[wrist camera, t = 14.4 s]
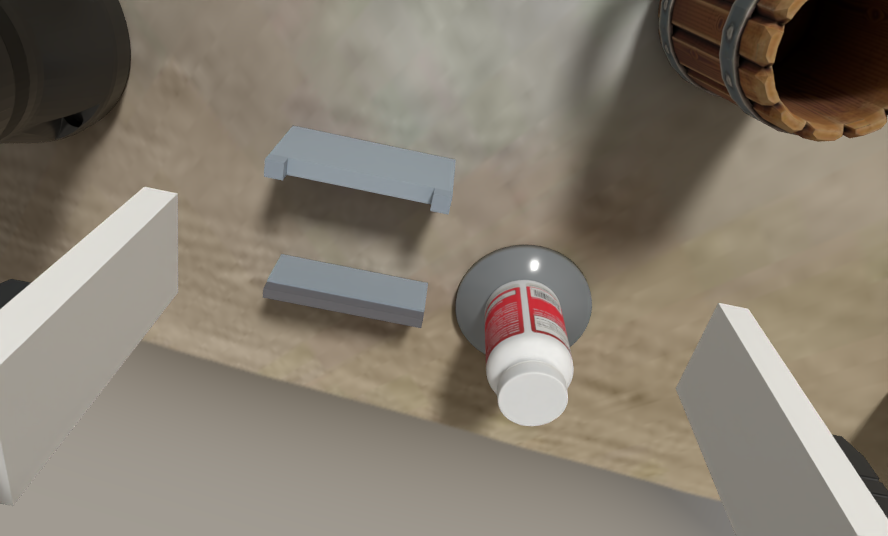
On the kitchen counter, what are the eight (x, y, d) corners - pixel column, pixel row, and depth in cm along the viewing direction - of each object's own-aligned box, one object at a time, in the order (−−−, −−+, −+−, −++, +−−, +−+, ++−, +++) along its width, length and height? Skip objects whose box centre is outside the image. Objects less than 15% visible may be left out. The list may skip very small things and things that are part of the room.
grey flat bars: (280, 266, 52) (254, 314, 46) (292, 125, 47) (264, 159, 40) (425, 295, 53) (418, 345, 47) (455, 159, 47) (452, 197, 41)
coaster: (444, 344, 56) (443, 349, 55) (472, 232, 50) (472, 236, 49) (567, 368, 56) (568, 373, 55) (608, 260, 51) (610, 265, 50)
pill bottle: (484, 340, 54) (486, 435, 44) (483, 277, 51) (485, 364, 42) (559, 339, 54) (577, 435, 44) (562, 276, 51) (582, 363, 41)
